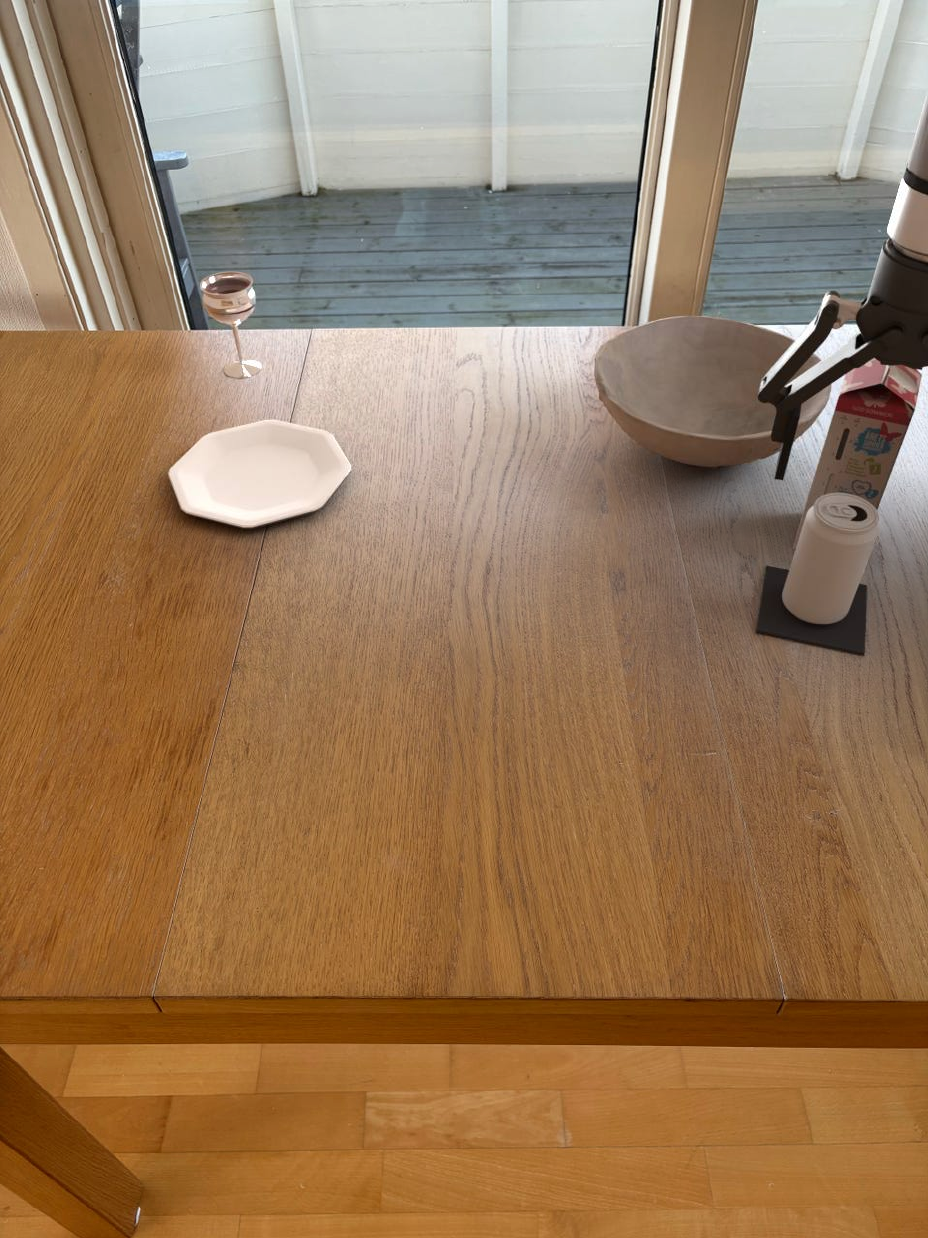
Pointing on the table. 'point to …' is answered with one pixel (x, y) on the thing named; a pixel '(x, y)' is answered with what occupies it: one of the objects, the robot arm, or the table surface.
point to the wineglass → (231, 311)
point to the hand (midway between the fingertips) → (859, 484)
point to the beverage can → (830, 557)
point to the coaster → (787, 626)
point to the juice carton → (865, 433)
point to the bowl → (698, 388)
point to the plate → (259, 474)
